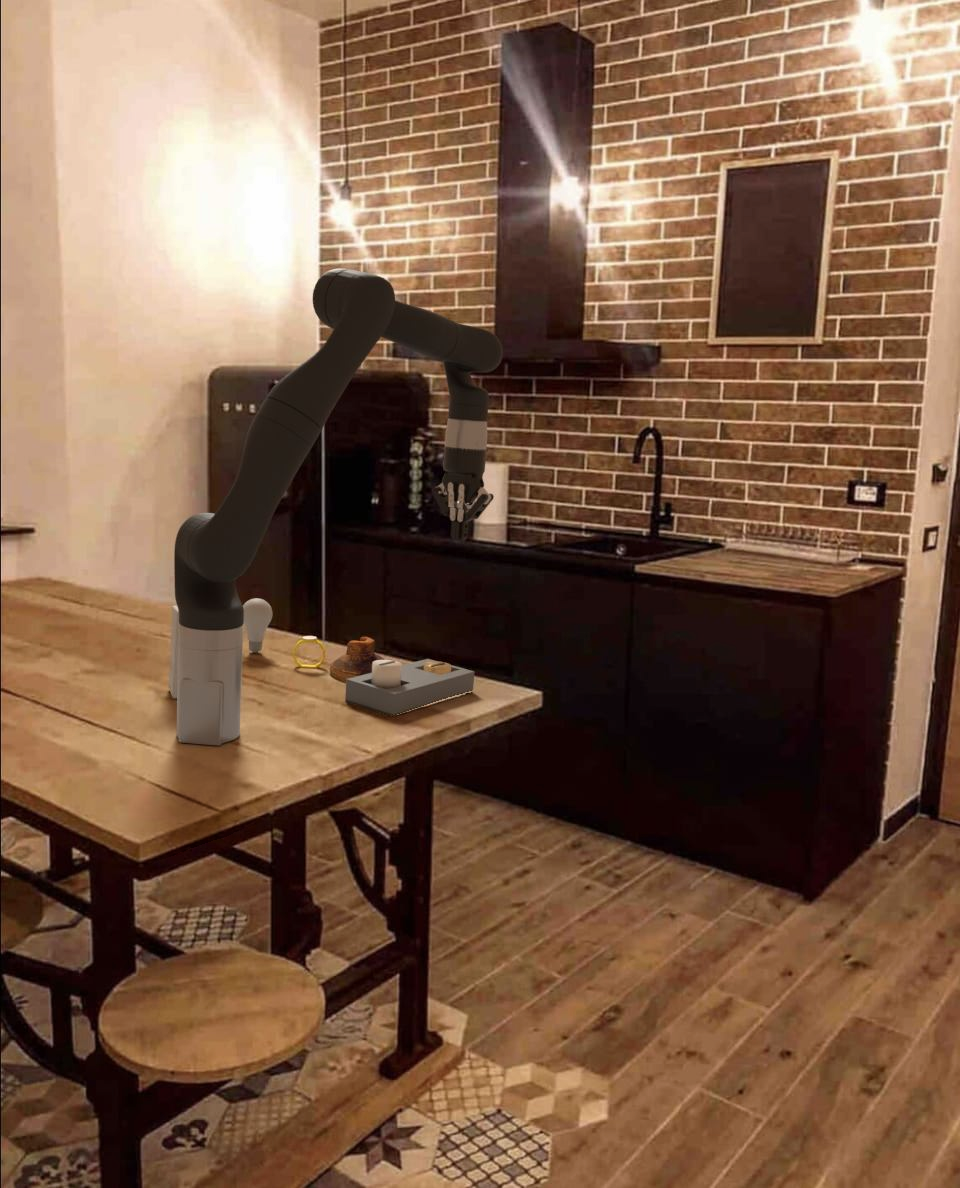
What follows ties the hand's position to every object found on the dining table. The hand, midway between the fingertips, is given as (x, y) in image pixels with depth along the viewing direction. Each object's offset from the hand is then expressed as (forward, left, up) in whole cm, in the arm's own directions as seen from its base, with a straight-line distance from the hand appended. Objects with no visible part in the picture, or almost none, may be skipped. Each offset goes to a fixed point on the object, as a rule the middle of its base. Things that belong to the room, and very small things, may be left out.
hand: (458, 541), depth 184 cm
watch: (+4, +27, -27) cm, 39 cm away
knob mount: (-10, +6, -27) cm, 29 cm away
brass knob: (-4, +2, -26) cm, 27 cm away
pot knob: (-16, +10, -24) cm, 30 cm away
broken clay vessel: (+2, +17, -28) cm, 32 cm away
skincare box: (-18, +42, -27) cm, 53 cm away
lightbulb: (+11, +39, -27) cm, 49 cm away
